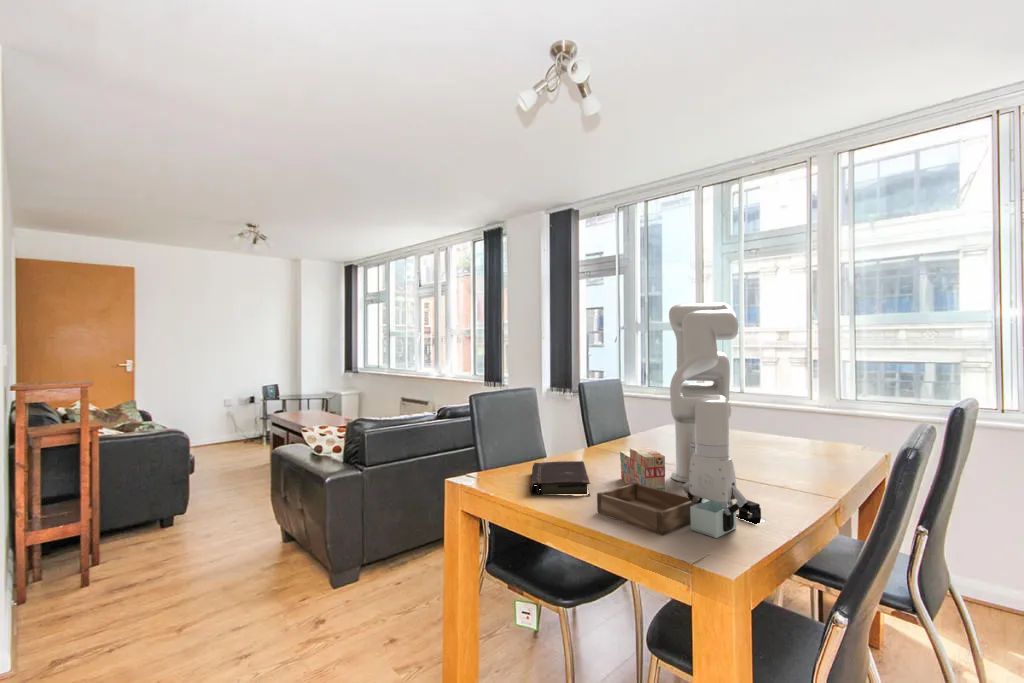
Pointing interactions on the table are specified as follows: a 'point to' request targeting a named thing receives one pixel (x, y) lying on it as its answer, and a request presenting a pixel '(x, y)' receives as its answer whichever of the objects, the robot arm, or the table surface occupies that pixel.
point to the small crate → (709, 518)
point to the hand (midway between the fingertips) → (713, 524)
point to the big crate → (646, 507)
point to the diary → (560, 477)
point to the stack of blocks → (643, 467)
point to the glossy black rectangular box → (751, 508)
